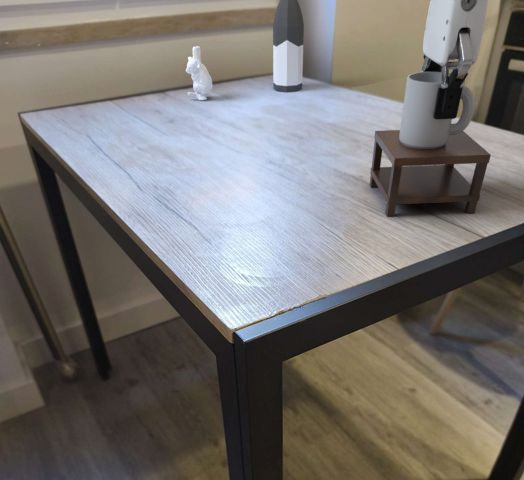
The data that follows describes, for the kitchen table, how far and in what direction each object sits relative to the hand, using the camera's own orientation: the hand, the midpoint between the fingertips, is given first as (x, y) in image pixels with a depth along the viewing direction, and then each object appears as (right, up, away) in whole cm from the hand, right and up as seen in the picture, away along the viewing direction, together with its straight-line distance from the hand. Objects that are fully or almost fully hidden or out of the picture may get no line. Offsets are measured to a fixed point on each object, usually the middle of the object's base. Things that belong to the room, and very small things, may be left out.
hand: (435, 109), depth 75 cm
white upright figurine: (-42, +31, +61) cm, 81 cm away
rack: (0, -11, +9) cm, 14 cm away
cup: (0, -4, +3) cm, 5 cm away
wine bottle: (-19, +38, +68) cm, 80 cm away
